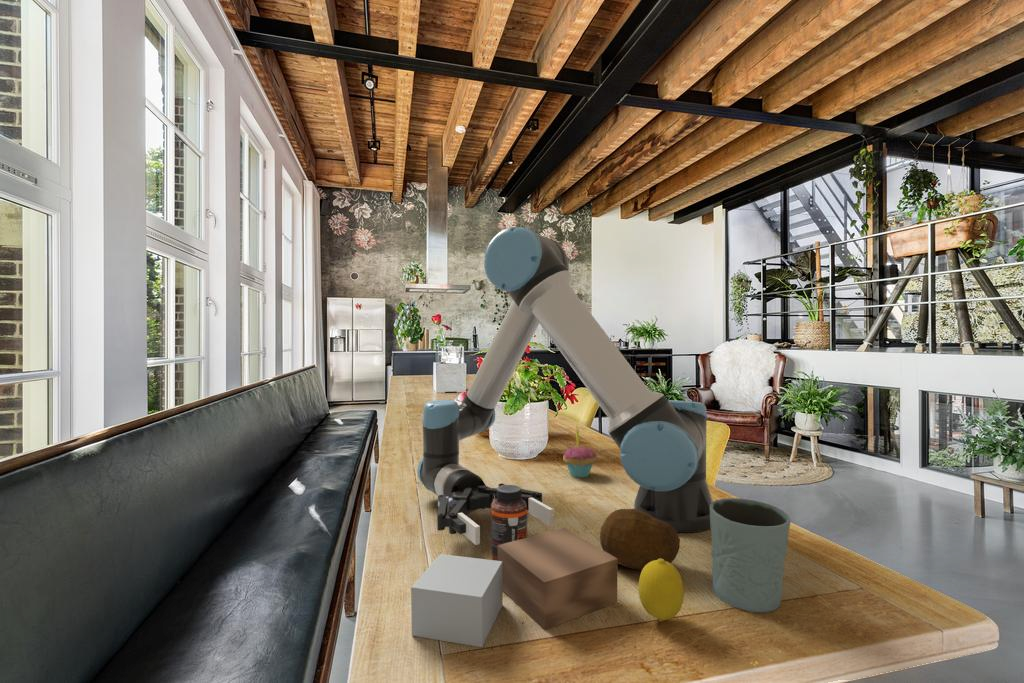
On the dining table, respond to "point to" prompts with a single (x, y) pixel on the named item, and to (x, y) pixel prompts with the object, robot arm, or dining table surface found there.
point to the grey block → (457, 599)
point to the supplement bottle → (507, 517)
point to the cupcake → (579, 459)
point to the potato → (638, 538)
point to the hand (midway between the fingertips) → (516, 526)
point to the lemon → (661, 589)
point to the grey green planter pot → (748, 553)
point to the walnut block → (557, 576)
